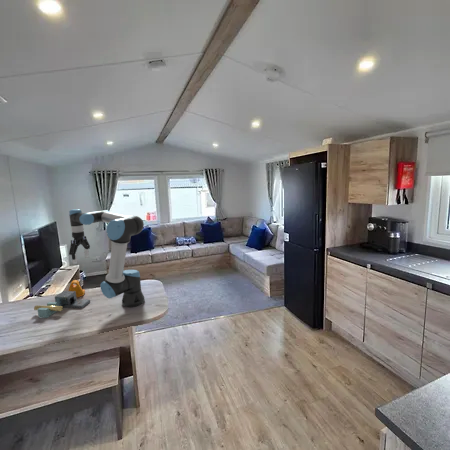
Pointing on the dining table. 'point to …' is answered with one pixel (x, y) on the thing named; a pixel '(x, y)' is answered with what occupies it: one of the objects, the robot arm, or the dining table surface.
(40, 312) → the v block
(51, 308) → the axle
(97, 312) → the dining table surface
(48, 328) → the dining table surface
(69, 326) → the dining table surface
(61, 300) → the block
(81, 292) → the bracket
